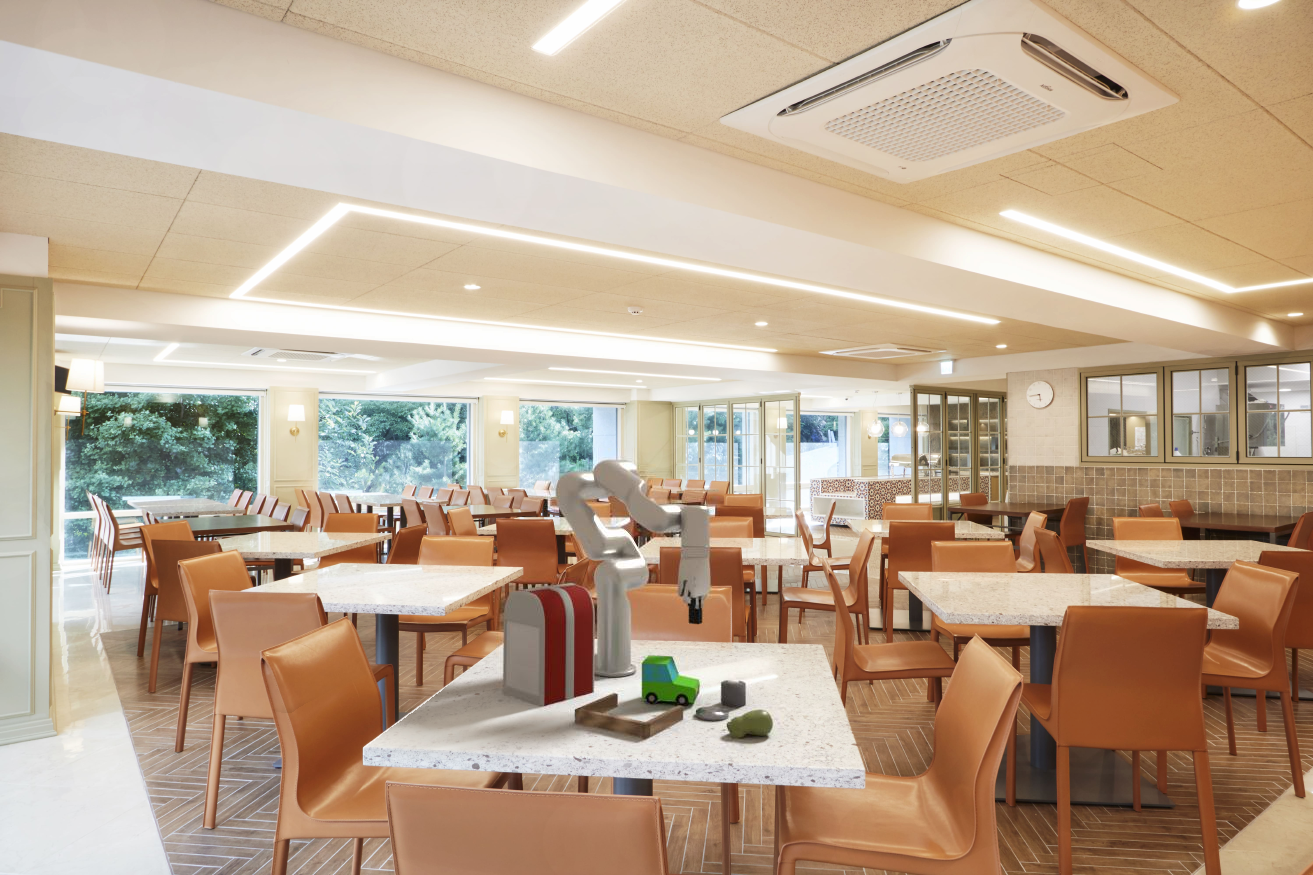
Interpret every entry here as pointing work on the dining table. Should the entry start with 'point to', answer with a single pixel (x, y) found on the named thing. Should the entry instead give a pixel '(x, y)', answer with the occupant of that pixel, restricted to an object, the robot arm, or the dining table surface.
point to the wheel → (733, 693)
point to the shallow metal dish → (712, 713)
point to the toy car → (666, 682)
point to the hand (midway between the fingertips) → (695, 623)
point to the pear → (751, 724)
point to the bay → (596, 718)
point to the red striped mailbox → (549, 644)
